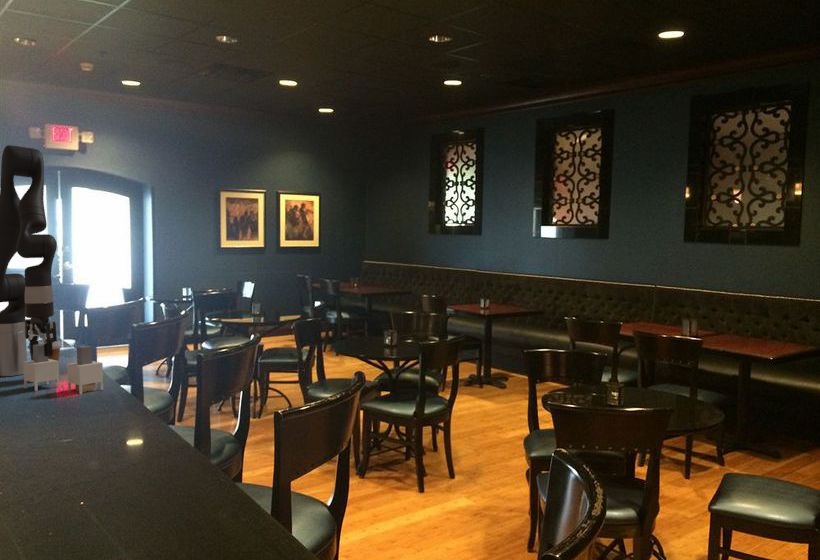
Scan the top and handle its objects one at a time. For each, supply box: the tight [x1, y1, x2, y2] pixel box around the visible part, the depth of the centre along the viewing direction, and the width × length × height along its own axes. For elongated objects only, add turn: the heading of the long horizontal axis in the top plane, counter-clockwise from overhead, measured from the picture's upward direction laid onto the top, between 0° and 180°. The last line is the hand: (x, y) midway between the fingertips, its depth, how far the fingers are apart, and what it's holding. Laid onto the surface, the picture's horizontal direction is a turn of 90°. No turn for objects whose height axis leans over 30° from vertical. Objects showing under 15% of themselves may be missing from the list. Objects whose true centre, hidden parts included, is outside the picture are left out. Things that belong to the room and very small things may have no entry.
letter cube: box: [74, 382, 97, 393], centre depth 204 cm, size 4×4×4 cm
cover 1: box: [23, 344, 60, 392], centre depth 207 cm, size 7×7×13 cm
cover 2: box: [66, 345, 104, 395], centre depth 204 cm, size 7×7×13 cm
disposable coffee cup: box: [27, 339, 62, 361], centre depth 220 cm, size 10×10×12 cm
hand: (41, 354), depth 207 cm, fingers open, 8 cm apart
